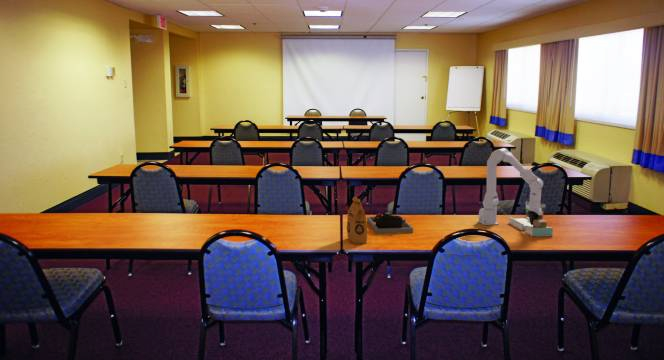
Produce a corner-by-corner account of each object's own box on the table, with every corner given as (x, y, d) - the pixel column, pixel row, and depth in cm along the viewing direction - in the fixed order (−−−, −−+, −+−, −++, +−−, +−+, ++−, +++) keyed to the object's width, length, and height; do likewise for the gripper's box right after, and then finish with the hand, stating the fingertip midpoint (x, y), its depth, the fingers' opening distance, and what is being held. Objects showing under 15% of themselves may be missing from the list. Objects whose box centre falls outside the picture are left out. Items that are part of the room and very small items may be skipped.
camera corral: (377, 233, 275) (377, 229, 274) (367, 220, 300) (367, 216, 300) (412, 232, 278) (413, 228, 277) (400, 219, 303) (400, 215, 302)
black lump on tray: (404, 226, 290) (405, 209, 288) (405, 232, 278) (406, 215, 276) (372, 225, 291) (373, 208, 289) (372, 231, 279) (373, 214, 277)
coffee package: (349, 245, 256) (350, 202, 251) (345, 237, 268) (346, 196, 264) (369, 244, 257) (370, 201, 253) (364, 237, 269) (364, 196, 265)
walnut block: (537, 231, 273) (538, 222, 272) (532, 228, 277) (533, 219, 277) (546, 230, 273) (547, 221, 272) (541, 228, 278) (542, 219, 277)
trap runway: (533, 236, 272) (533, 228, 271) (508, 222, 298) (509, 215, 297) (552, 235, 273) (553, 227, 272) (526, 222, 299) (527, 214, 298)
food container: (520, 217, 310) (521, 201, 308) (525, 216, 314) (526, 200, 312) (539, 221, 301) (541, 205, 299) (544, 220, 305) (546, 203, 303)
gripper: (549, 203, 273) (546, 228, 275) (534, 197, 287) (532, 220, 289) (536, 203, 272) (534, 228, 274) (523, 197, 286) (521, 221, 289)
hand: (532, 224), depth 282 cm, fingers closed
